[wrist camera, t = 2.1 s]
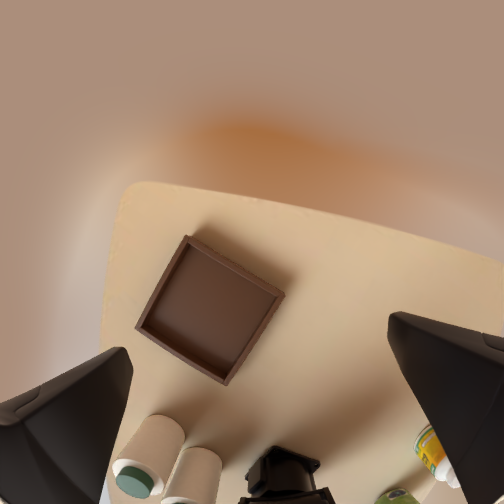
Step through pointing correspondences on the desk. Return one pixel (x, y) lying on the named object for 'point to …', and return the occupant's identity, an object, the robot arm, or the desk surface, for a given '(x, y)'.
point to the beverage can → (397, 497)
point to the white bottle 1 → (149, 457)
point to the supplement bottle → (435, 457)
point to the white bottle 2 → (194, 478)
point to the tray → (208, 310)
